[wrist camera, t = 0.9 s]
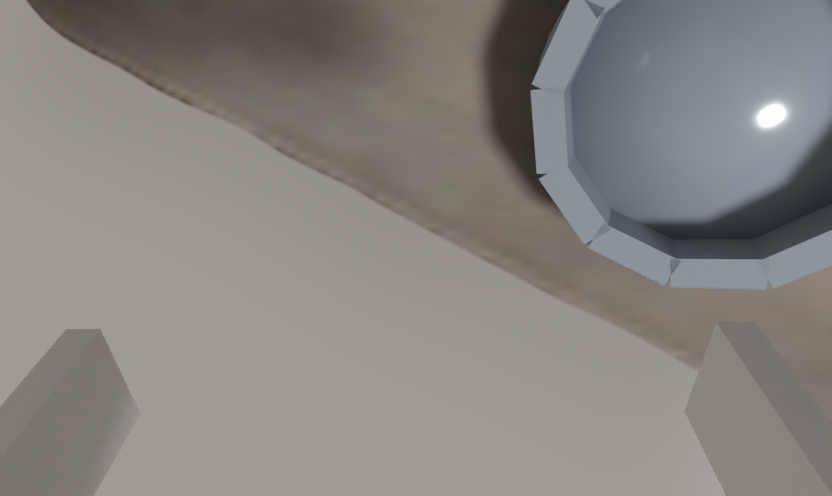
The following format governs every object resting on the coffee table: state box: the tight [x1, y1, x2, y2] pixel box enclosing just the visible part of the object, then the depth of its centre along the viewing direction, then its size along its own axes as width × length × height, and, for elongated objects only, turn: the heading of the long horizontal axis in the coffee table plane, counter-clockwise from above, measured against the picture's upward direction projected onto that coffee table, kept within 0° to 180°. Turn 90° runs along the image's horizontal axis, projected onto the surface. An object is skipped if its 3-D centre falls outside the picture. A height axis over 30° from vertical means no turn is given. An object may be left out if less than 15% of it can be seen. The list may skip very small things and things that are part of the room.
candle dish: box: [530, 0, 832, 290], centre depth 24 cm, size 17×17×4 cm
